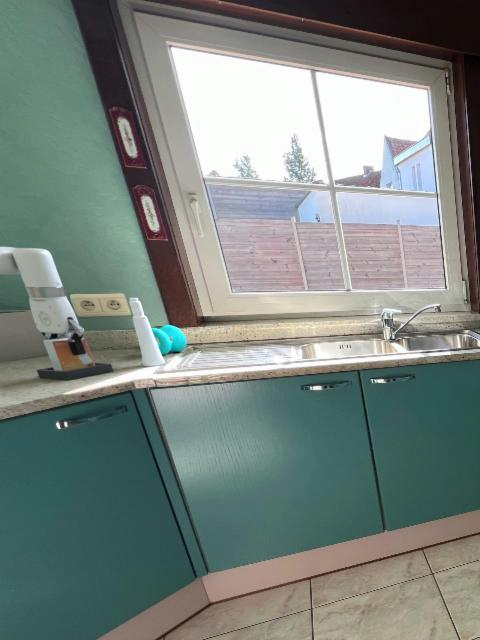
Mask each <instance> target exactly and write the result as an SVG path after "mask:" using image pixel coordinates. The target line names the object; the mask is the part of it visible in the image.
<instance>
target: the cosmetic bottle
mask: <svg viewBox="0 0 480 640" xmlns="http://www.w3.org/2000/svg"><path fill="white" fill-rule="evenodd" d="M128 299H129V301H128V303H129V306H130V310H131V313H132V315H133V316H132V322H133V326H134V329H135V333H136V337H137V341H138V345H139V349H140V354H141V360H142V361H141V362H142V366H144V367H159V366H163V365H166V364H167V362H166V360H165V358H164V356H163V355H162V354H161V352H160V350H159V348H158V345H157V343H158V342H157V343H156V341H157V339H156V340H155V337H154V335H153V332H152V329H151V328H152V327H151V324H150V321H149V319H148V317H147V316H146V315H145V312H144V309H143V306H142V302H141V301H140V300H139V297H129V298H128Z"/></svg>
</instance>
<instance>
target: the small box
mask: <svg viewBox="0 0 480 640" xmlns="http://www.w3.org/2000/svg"><path fill="white" fill-rule="evenodd" d="M82 339H83V341H82V343H83V346H84V349H85V351H86V354H82V355H73V354H72V351H71V349H70V346H69V343H68V342H70V341H69V340H68V338H67V337H63V338H59V339H52V340H46V339H43V341H42V342H43V344H44V347H45V350H46V352H47V355H48V357H49V360H50V363H51V365H52V367H53V368H54V370H55V371H71V370H76V369H82V368H87V367H92V366H95V363H96V362H95V361H94V358H93V355H92V352H91V348H90V347H89V344H88V343H89V342H88V341H87V338H85V337H82ZM94 362H95V363H94Z"/></svg>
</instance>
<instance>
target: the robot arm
mask: <svg viewBox="0 0 480 640" xmlns="http://www.w3.org/2000/svg"><path fill="white" fill-rule="evenodd" d="M57 269H58V268H57V266H56V264H55V261H54V258H53V256H52V253H51V252H50V251H49V250H48V249H45V248H37V247H12V246H0V276H12V275H20V276H21V280H22V282H23V284H24V287H25V290H26V292H27V295H28V297H29V298H28V299H29V308H30V311H31V315H32V318H33V320H34V324H35V327H36V329H37V331H39V332H40V333H41V334H42V336H43V337H45V339H44V340H52V339H60V335H61V334H62V335H63V334H64V336H65V338H68V340H69V341H70V342H68V343H69V346H70V349H71V351H72V354H73V355H82V354H86V351H85V349H84V346H83V343H82V341H83V339H82V338H84V333H85V329H84V328H83V327H82V326H81V325H80V324H79V320H78V318H77V316H76V313H75V311H74V308H73V307H72V305H71V303H70V301H69V300H68V297H67V294H66V291H65V289H64V286H63V282H62V280H61V277H60V275H59V272H58V270H57Z"/></svg>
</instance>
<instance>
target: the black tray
mask: <svg viewBox="0 0 480 640" xmlns="http://www.w3.org/2000/svg"><path fill="white" fill-rule="evenodd" d="M94 363H95V366H92V367H87V368H82V369H76V370H71V371H55V370H54V368H53V366H51V367H45V368H39V369H36V372H37V375H38V378H39V379H45V380H57V381H72V380H78V379H84V378H88V377H94V376H98V375H103V374H108V373H114V367H113V365H112V363H107V362H95V361H94Z"/></svg>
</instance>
